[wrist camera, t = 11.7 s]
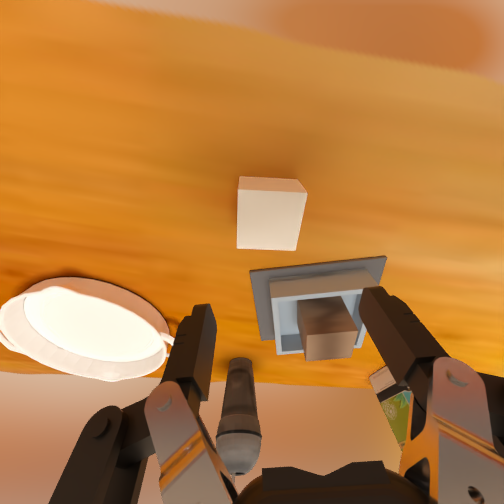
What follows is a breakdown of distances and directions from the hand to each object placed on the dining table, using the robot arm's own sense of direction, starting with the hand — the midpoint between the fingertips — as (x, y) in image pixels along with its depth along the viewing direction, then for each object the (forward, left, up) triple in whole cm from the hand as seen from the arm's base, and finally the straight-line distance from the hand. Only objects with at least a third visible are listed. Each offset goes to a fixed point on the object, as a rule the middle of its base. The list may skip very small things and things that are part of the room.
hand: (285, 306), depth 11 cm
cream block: (0, 0, -15) cm, 15 cm away
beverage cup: (+8, +33, -15) cm, 37 cm away
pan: (+28, +18, -15) cm, 37 cm away
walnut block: (-6, +17, -13) cm, 22 cm away
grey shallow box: (-6, +17, -14) cm, 23 cm away
